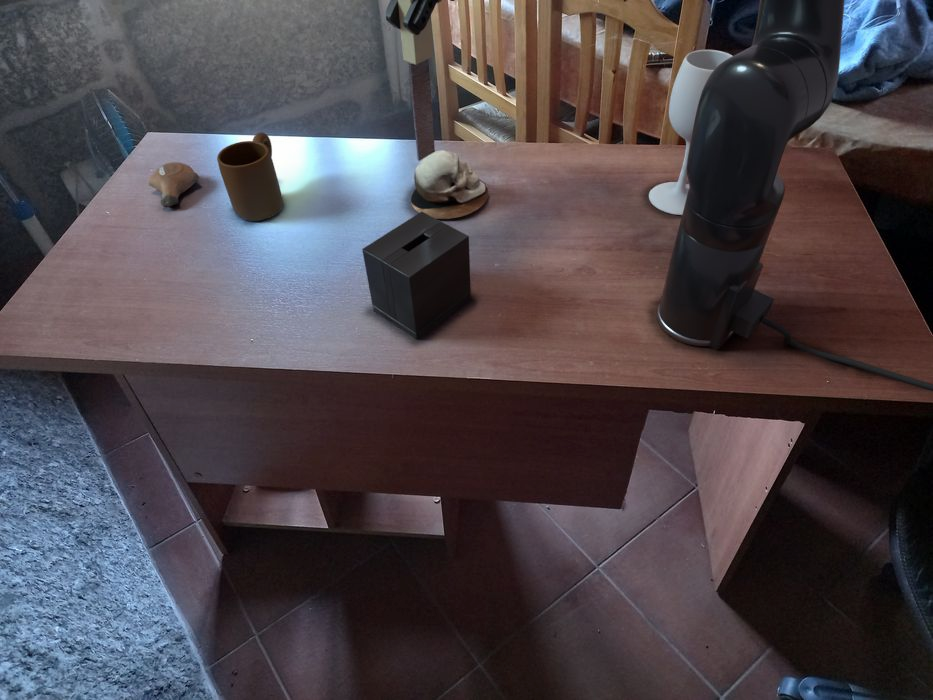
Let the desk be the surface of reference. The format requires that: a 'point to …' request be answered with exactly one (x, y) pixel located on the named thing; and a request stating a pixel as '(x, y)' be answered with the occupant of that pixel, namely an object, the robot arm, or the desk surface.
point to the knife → (419, 80)
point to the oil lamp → (172, 181)
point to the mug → (251, 178)
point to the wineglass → (685, 121)
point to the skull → (447, 187)
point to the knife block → (418, 273)
